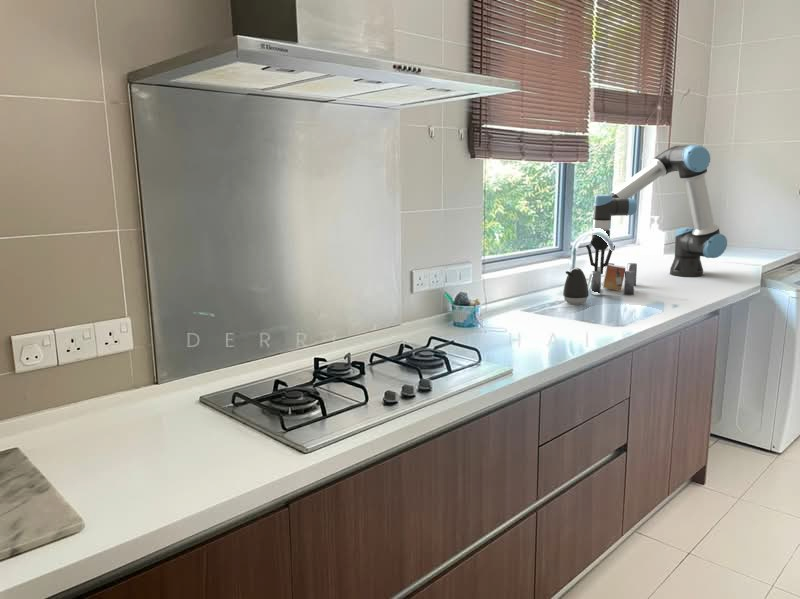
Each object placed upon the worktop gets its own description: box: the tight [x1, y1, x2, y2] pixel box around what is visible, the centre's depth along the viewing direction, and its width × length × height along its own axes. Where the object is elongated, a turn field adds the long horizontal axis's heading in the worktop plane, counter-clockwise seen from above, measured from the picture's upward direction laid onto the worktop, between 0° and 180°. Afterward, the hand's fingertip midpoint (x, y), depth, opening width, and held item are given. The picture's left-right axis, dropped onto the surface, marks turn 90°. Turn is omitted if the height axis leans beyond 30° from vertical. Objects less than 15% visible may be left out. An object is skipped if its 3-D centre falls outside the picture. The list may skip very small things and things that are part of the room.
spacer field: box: [590, 262, 638, 296], centre depth 289 cm, size 22×24×10 cm
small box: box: [602, 264, 626, 292], centre depth 289 cm, size 8×6×10 cm
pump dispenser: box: [562, 267, 590, 306], centre depth 265 cm, size 10×10×15 cm
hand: (598, 281), depth 291 cm, fingers closed
